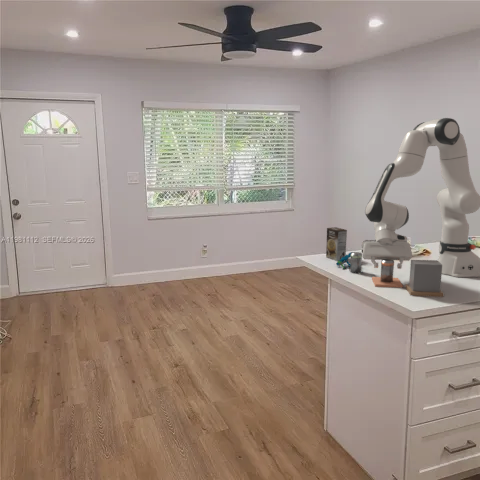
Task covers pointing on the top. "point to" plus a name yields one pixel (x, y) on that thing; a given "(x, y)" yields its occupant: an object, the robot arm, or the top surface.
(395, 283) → the mat
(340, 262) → the blue toy figure
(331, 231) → the coffee box
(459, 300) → the top surface
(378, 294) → the top surface
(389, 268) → the terracotta cartridge
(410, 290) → the block
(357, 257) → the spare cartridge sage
